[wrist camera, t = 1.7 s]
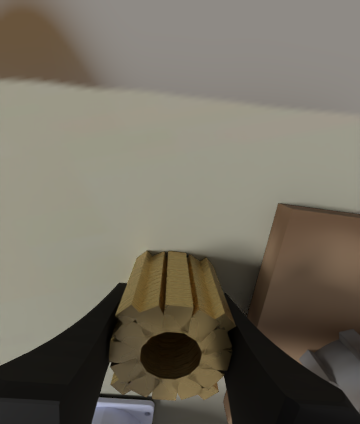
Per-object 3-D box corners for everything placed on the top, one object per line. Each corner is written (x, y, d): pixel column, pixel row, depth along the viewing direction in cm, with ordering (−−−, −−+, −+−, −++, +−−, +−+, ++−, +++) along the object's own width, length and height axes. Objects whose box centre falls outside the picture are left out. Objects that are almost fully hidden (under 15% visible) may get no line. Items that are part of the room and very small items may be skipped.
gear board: (370, 410, 18) (426, 482, 14) (223, 401, 17) (238, 475, 13) (471, 229, 13) (598, 258, 9) (278, 203, 12) (328, 223, 8)
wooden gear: (203, 322, 15) (218, 403, 10) (129, 316, 14) (106, 396, 9) (217, 256, 13) (243, 311, 8) (135, 247, 13) (112, 299, 8)
